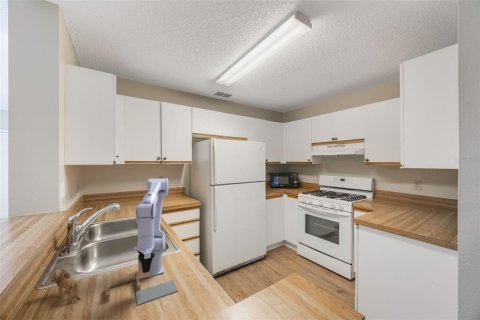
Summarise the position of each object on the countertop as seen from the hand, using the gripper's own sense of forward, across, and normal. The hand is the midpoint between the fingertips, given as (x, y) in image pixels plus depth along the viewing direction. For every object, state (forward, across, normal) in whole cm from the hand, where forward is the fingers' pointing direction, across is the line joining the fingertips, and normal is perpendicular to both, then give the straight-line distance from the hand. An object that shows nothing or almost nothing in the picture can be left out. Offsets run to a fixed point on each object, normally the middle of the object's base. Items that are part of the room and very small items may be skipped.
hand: (145, 269), depth 74 cm
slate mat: (+9, +2, +4) cm, 10 cm away
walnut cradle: (+9, -6, -7) cm, 13 cm away
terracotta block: (+2, 0, 0) cm, 2 cm away
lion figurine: (+9, -13, -26) cm, 30 cm away
